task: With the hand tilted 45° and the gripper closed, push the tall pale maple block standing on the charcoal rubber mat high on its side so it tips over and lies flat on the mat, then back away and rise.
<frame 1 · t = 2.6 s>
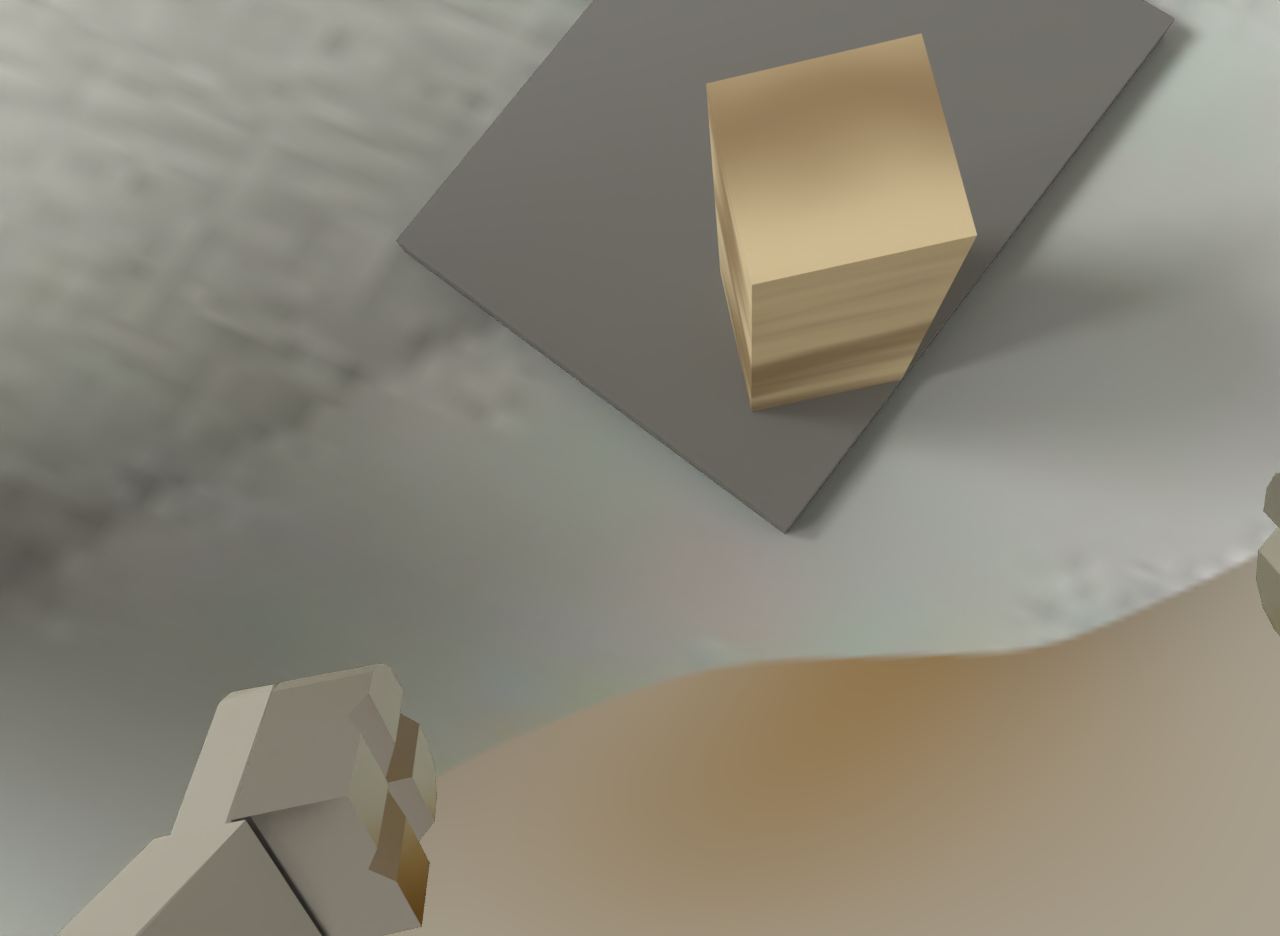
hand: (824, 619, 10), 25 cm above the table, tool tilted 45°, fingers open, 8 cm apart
maple block: (809, 325, 36), point 1 cm above the table, touching rubber mat
rubber mat: (777, 145, 38), on the table
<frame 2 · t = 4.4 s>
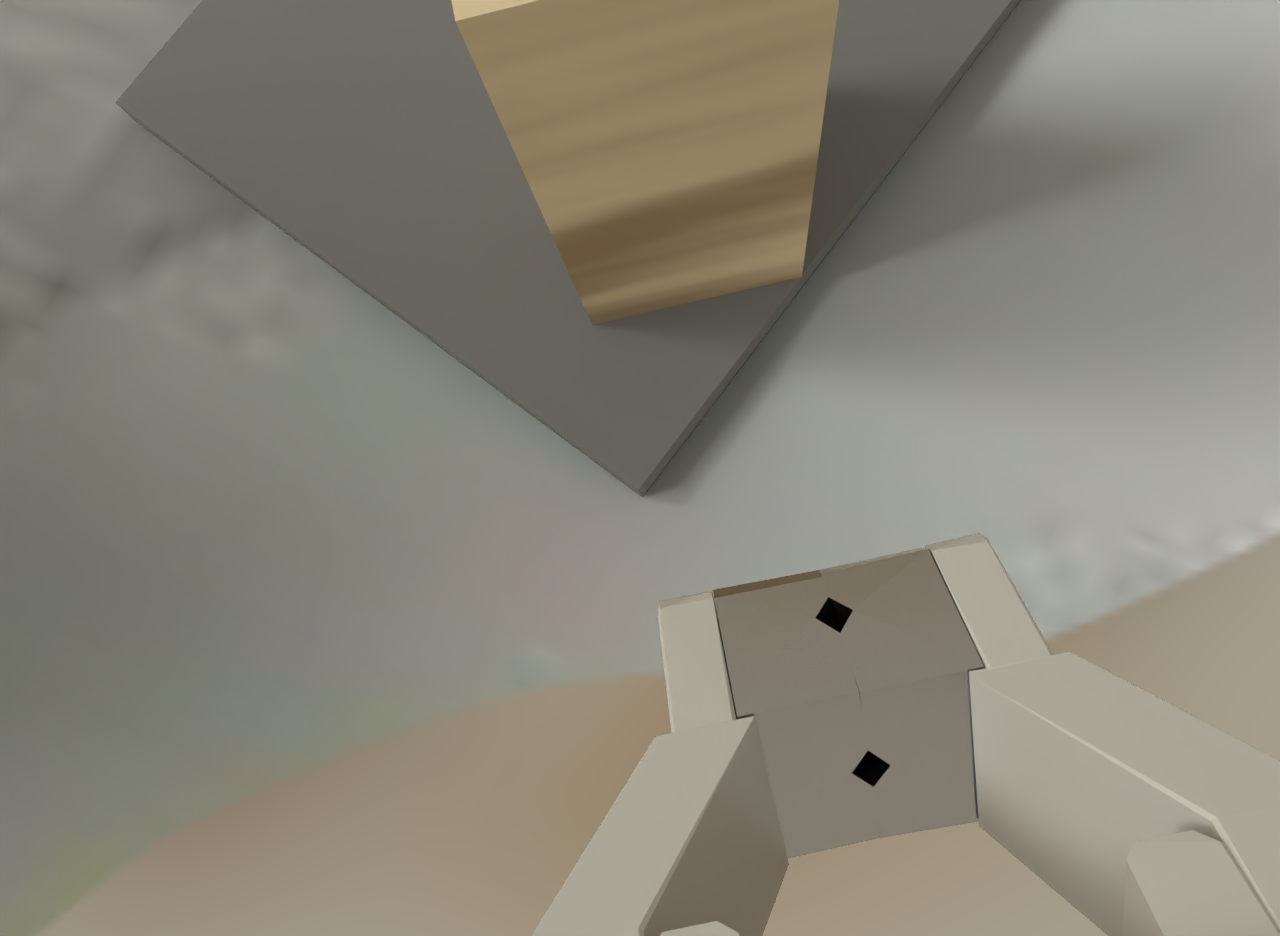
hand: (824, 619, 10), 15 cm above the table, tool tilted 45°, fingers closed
maple block: (674, 203, 25), point 1 cm above the table, touching rubber mat
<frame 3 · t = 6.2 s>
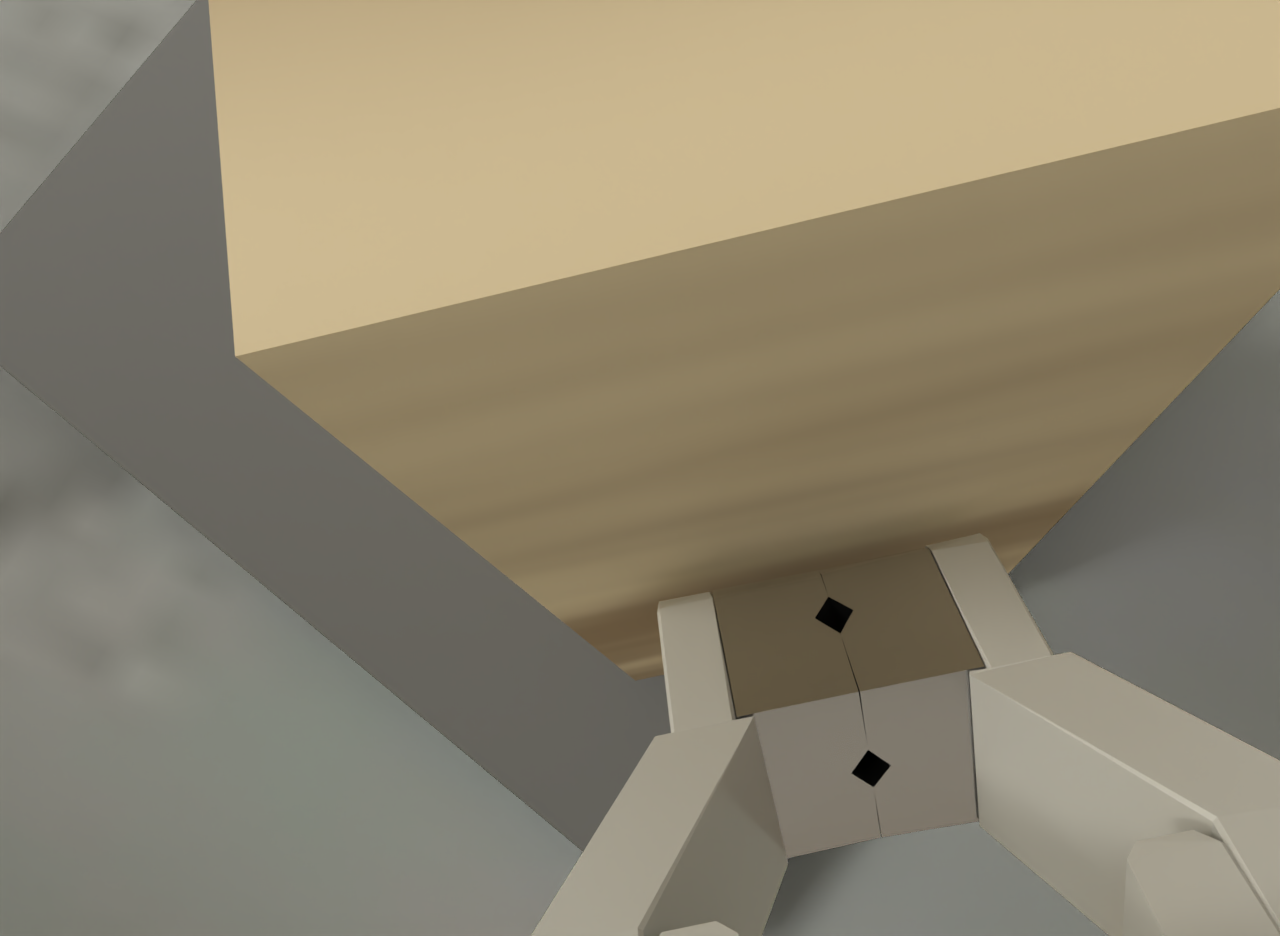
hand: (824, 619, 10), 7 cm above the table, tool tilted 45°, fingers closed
maple block: (764, 484, 16), point 1 cm above the table, tilted 7°, touching gripper, rubber mat
rubber mat: (702, 108, 19), on the table
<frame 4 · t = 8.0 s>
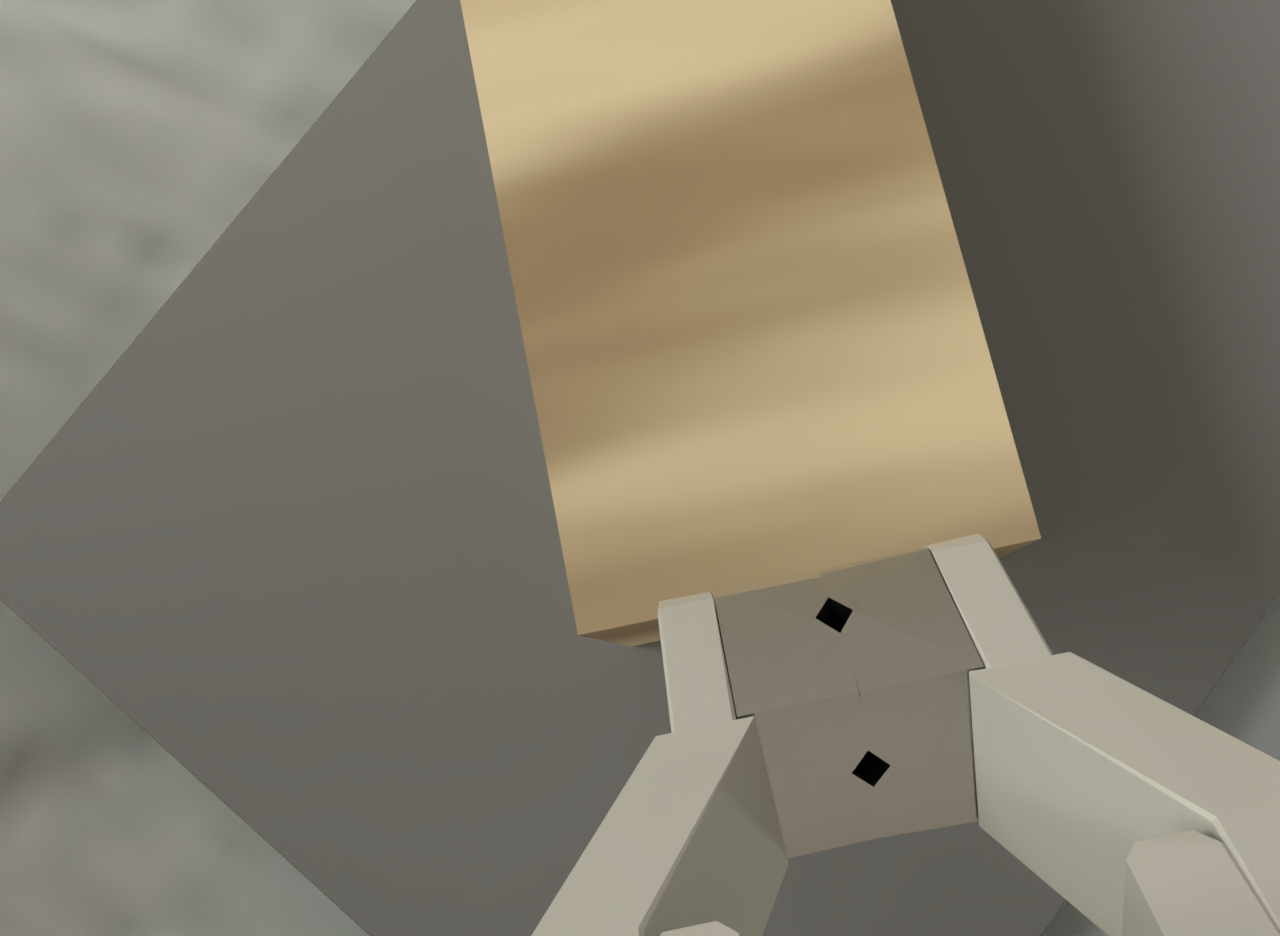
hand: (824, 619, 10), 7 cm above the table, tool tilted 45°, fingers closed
maple block: (797, 602, 14), point 3 cm above the table, tilted 90°, touching rubber mat
rubber mat: (758, 347, 18), on the table
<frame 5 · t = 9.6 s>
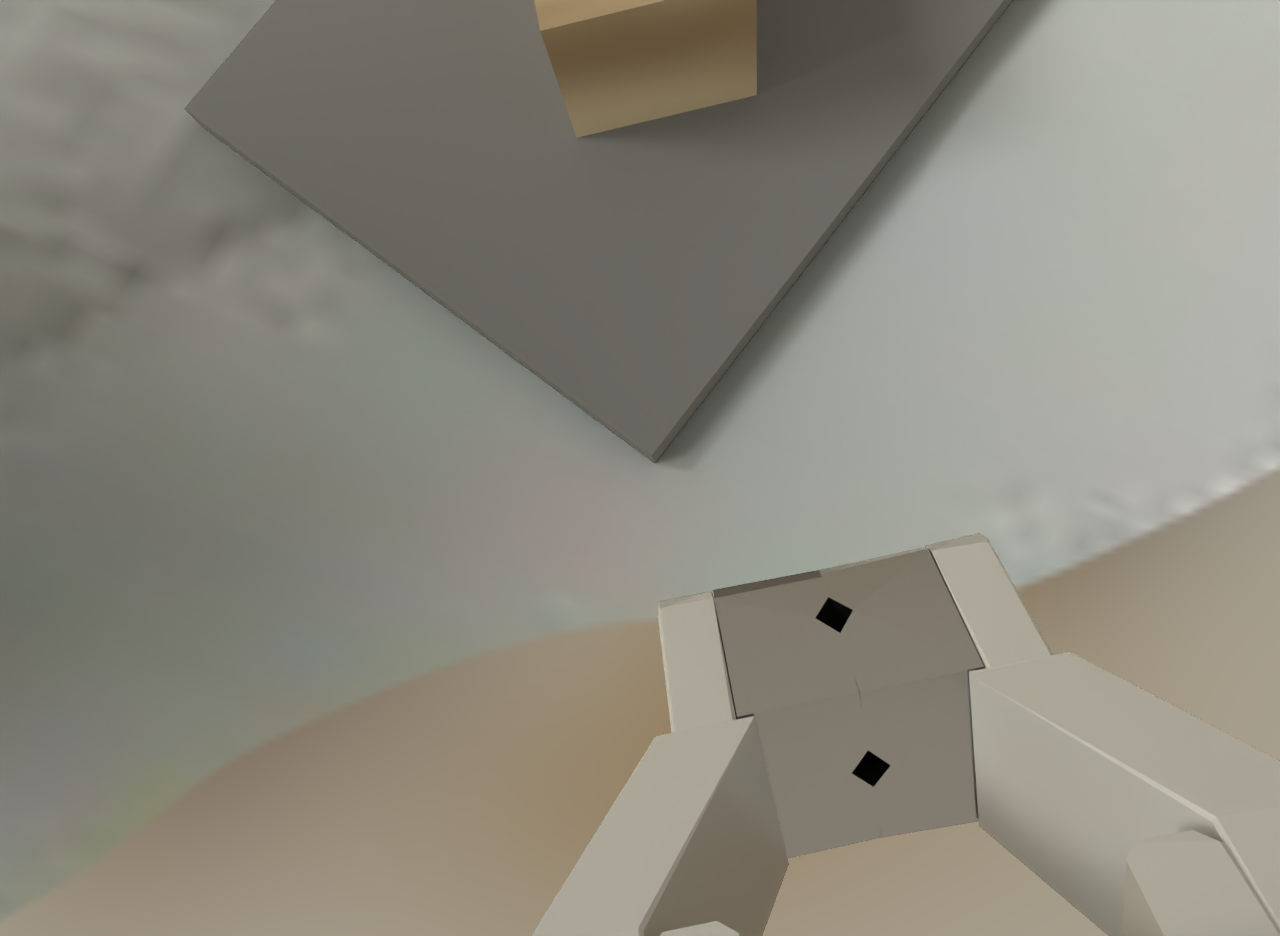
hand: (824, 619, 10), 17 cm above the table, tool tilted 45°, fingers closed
maple block: (657, 65, 27), point 3 cm above the table, tilted 90°, touching rubber mat
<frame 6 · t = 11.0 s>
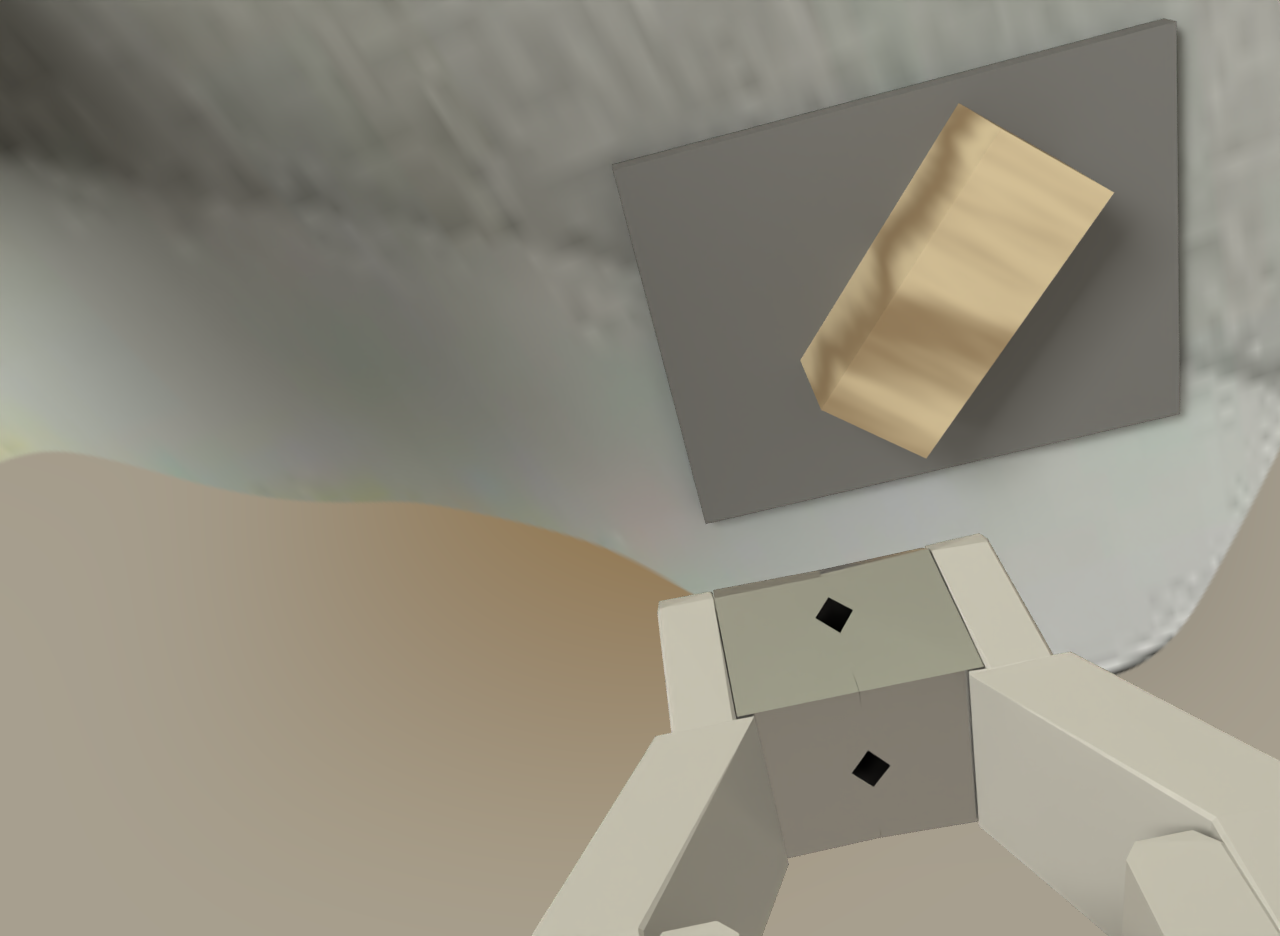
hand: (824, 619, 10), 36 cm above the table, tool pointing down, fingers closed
maple block: (860, 407, 45), point 3 cm above the table, tilted 90°, touching rubber mat
rubber mat: (909, 292, 46), on the table
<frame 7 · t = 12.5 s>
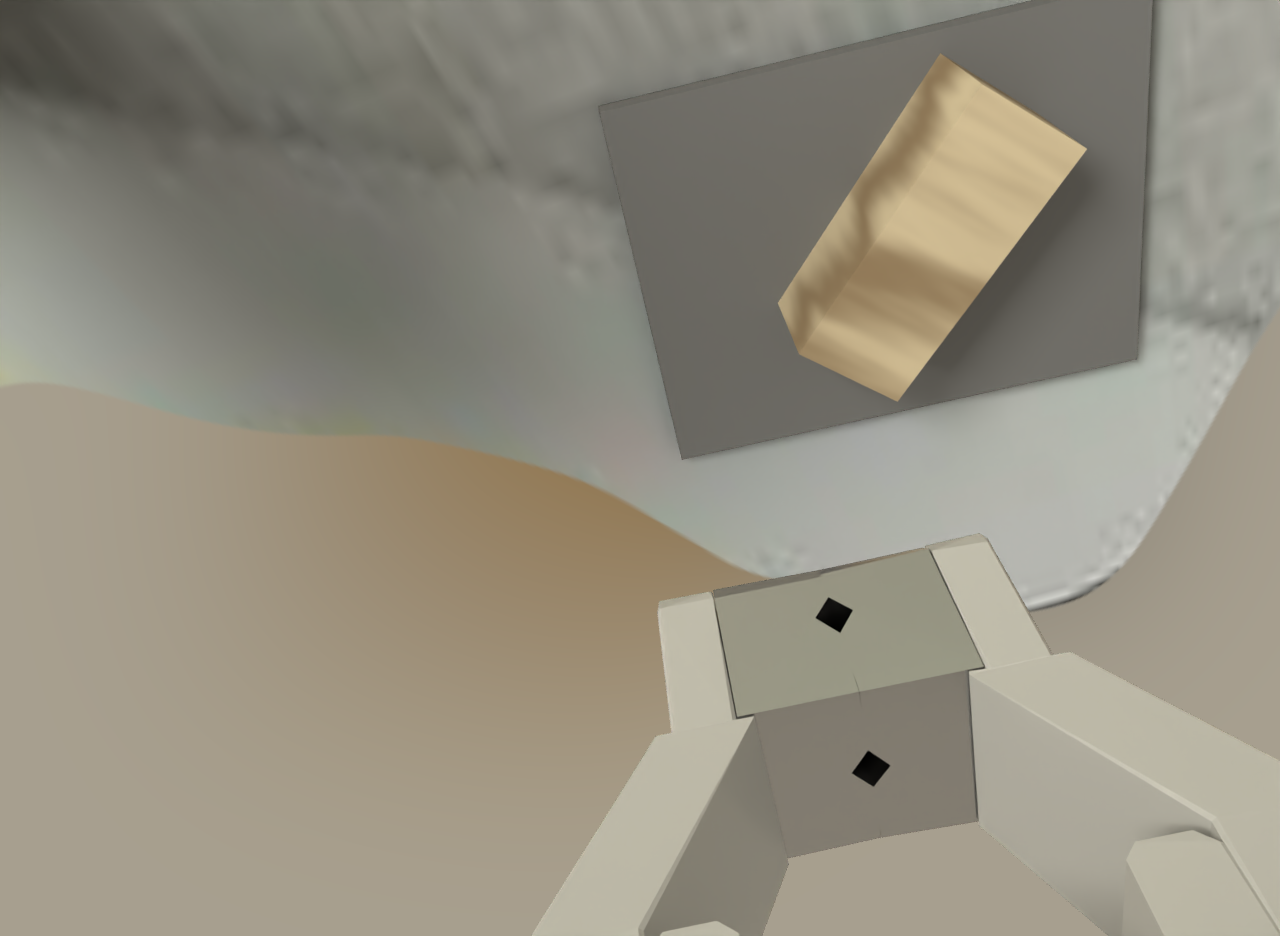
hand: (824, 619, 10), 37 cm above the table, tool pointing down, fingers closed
maple block: (835, 350, 46), point 3 cm above the table, tilted 90°, touching rubber mat
rubber mat: (884, 237, 47), on the table
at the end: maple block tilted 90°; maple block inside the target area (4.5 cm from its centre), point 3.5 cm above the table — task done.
